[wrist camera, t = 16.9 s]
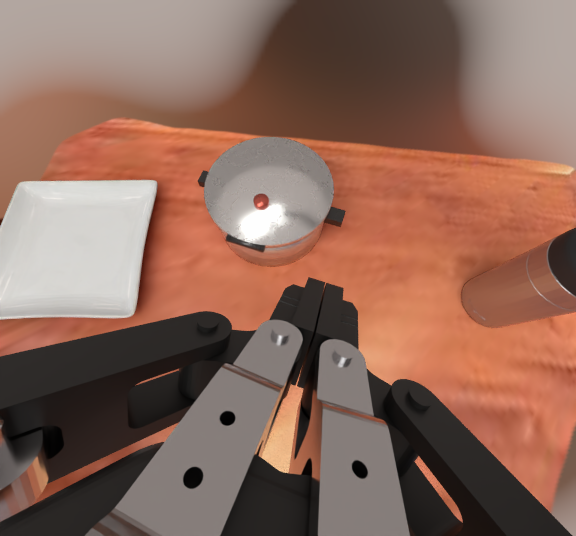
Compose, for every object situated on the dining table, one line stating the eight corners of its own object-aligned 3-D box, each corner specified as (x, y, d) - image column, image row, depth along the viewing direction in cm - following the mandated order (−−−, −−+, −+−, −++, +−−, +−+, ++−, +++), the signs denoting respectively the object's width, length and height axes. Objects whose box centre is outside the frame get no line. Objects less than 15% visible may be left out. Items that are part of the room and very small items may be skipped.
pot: (321, 285, 49) (328, 267, 41) (190, 243, 52) (171, 219, 44) (348, 197, 56) (359, 166, 48) (231, 164, 59) (221, 129, 50)
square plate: (33, 191, 56) (15, 179, 53) (165, 190, 57) (157, 178, 53) (-17, 323, 47) (-42, 319, 43) (143, 321, 47) (131, 317, 44)
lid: (310, 268, 41) (312, 263, 38) (182, 228, 43) (177, 221, 41) (346, 159, 48) (348, 150, 46) (235, 130, 50) (233, 120, 48)
